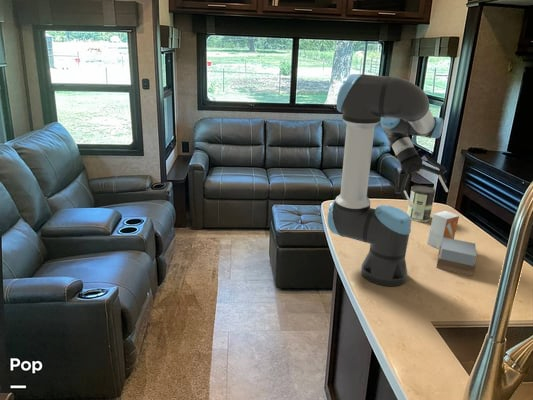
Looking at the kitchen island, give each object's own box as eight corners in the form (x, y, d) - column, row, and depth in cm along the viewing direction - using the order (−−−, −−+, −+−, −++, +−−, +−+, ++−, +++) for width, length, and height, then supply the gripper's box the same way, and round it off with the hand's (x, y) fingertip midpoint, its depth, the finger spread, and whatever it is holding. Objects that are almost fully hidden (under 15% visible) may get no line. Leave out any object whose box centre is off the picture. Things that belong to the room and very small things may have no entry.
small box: (440, 250, 164) (447, 219, 159) (426, 243, 168) (432, 213, 164) (452, 245, 168) (459, 215, 163) (439, 239, 173) (445, 210, 168)
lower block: (472, 277, 146) (475, 267, 144) (436, 268, 150) (438, 258, 149) (472, 262, 156) (474, 253, 155) (437, 255, 161) (440, 245, 159)
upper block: (473, 266, 145) (476, 256, 144) (439, 259, 149) (442, 248, 147) (472, 253, 154) (475, 243, 153) (440, 246, 158) (443, 237, 157)
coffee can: (425, 214, 199) (430, 185, 195) (432, 222, 190) (438, 193, 185) (403, 212, 199) (408, 184, 195) (410, 221, 190) (415, 191, 185)
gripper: (436, 140, 166) (462, 187, 158) (377, 168, 173) (399, 214, 165) (435, 133, 159) (462, 181, 151) (374, 162, 166) (396, 210, 159)
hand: (429, 198), depth 158 cm, fingers open, 13 cm apart
